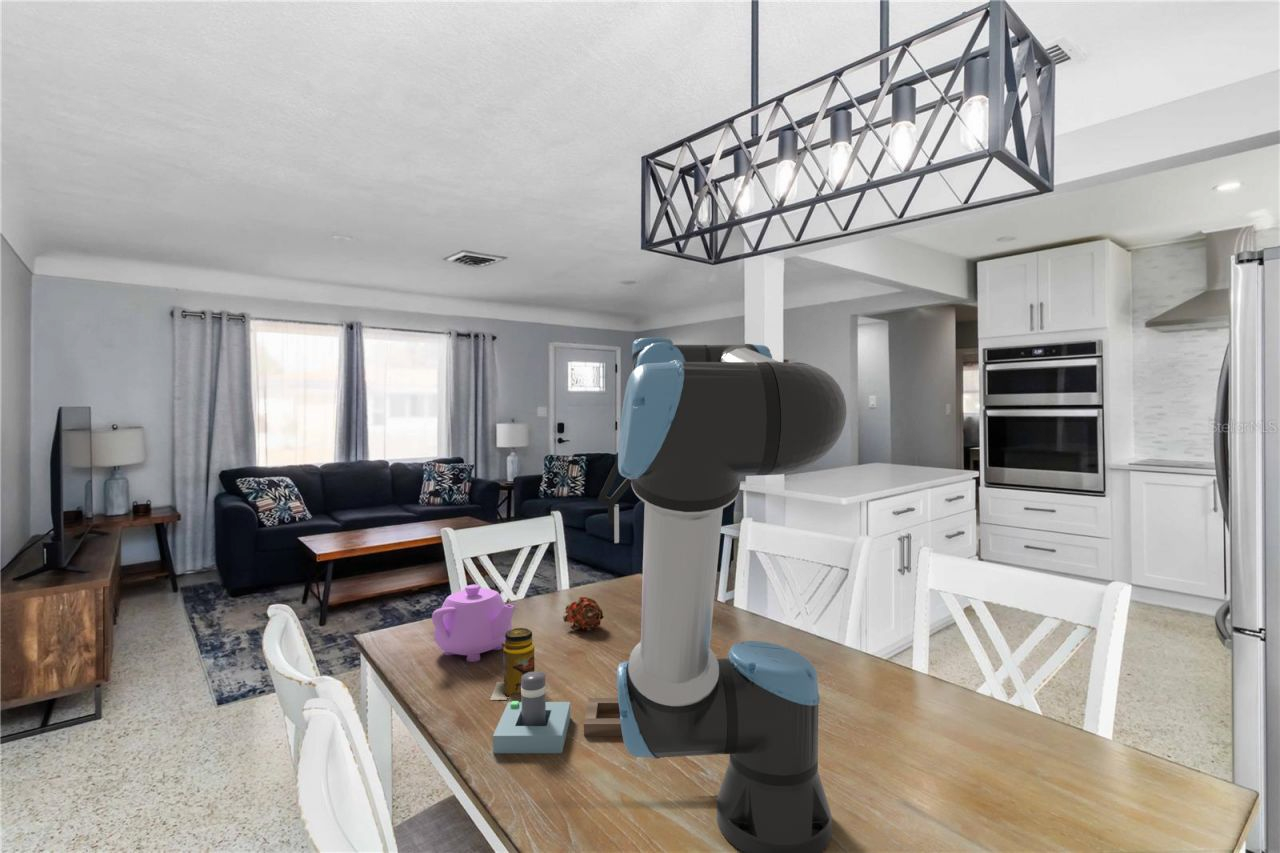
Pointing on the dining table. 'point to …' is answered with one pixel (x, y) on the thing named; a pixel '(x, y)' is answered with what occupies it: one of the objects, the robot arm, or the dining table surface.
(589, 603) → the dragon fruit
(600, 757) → the dining table surface
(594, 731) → the wooden square frame
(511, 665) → the condiment
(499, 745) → the port
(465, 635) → the teapot
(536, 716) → the plug
